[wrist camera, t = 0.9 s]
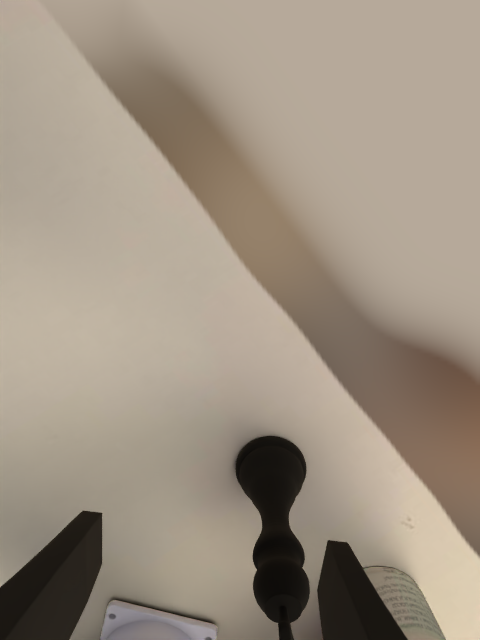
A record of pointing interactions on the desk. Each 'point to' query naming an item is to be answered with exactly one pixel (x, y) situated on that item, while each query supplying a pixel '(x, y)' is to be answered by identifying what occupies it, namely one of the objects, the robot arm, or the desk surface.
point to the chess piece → (276, 527)
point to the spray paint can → (405, 603)
